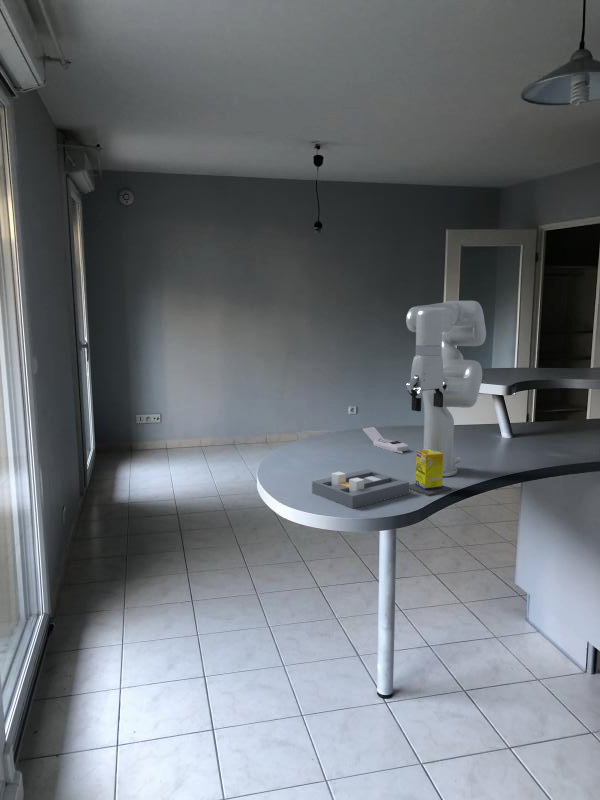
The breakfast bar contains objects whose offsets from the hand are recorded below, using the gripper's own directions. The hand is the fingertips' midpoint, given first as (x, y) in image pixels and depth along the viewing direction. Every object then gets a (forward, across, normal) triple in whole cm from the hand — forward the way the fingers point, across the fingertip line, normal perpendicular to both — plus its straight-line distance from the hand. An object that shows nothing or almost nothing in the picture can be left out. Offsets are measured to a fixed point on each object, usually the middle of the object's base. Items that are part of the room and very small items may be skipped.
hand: (427, 408), depth 187 cm
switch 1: (+22, +25, -12) cm, 35 cm away
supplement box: (+24, +1, +2) cm, 24 cm away
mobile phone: (+26, -29, -45) cm, 59 cm away
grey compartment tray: (+24, +20, -8) cm, 32 cm away
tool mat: (+24, +1, +2) cm, 24 cm away
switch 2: (+22, +25, -4) cm, 33 cm away
